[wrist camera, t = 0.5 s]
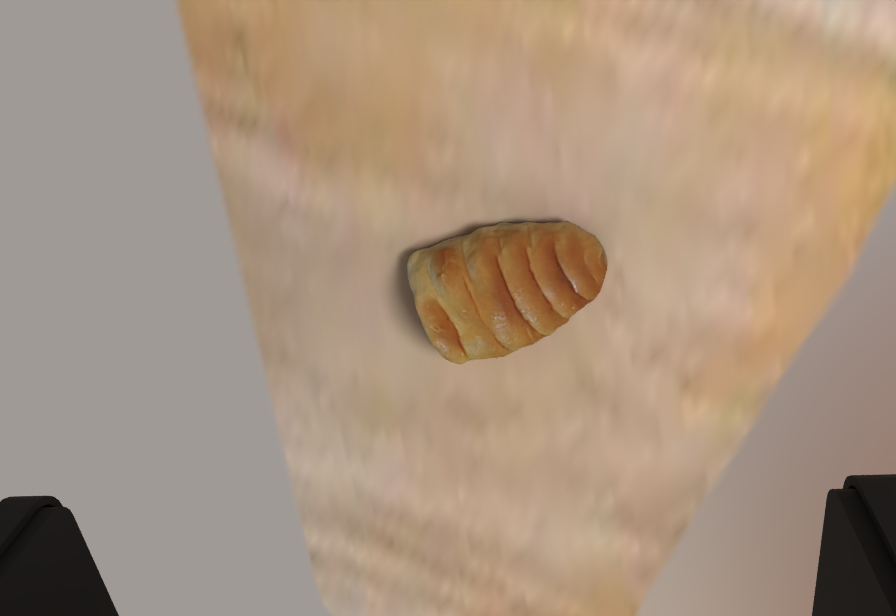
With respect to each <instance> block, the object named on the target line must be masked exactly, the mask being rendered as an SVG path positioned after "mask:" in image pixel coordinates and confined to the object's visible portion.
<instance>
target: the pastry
mask: <svg viewBox="0 0 896 616" xmlns="http://www.w3.org/2000/svg"><path fill="white" fill-rule="evenodd" d="M606 271H607V258H606V254H605V251H604V248H603V247H602V245H601V244H600V242H599V240H598V239H597V238H596V237H595V236H594V235H592V234H591V233H589V232H587V231H585V230H583V229H581V228H580V227H578V226H576V225H575V224H573V223H571V222H568V221H564V222H558V223H553V222H546V223H534V222H524V223H519V224H513V223H506V222H500V223H498V224H496V225H495V226H486V227H482V228H479V229H476V230H475V231H474V232H472V233H471V234H467V235H462V236H456V237H454V238H451V239H448V240H445V241H442V242H441V243H438V244H435V245H434V246H432V247H429V248H424V249H421V250H417V251H415V252H413V254H412V255H411V256H410V257H409V259H408V263H407V272H408V279H409V285H410V288H411V290H412V292H413V295H414V299H415V306H416V311H417V312H418V315H419V317H420V320H421V323H422V325H423V328H424V330H425V332H426V334H427V337H428V339H429V341H430V343H431V344H432V345H433V346H434V347H435V348H437V349H438V352H439V354H440V355H441V356H442V357H444V358H445V359H446V360H448V361H450V362H453V363H457V364H463V363H465V362H466V361H470V360H476V359H488V358H497V357H503V356H506V355H508V354H510V353H512V352H514V351H516V350H518V349H519V348H522V347H526V346H529V345H532V344H534V343H535V342H537V341H539V340H540V339H542V338H543V337H545V336H548V335H551V334H552V333H553V332H554V331H555V330H556V329H557V328H558V327H560V326H562V325H563V324H565V323H567V322H568V320H569V319H570V317H571V316H572V315H574V314H575V313H576V312H577V311H579V310H580V309H581V308H583V307H584V306H585V305H586V304H588V303H589V302H591V301H593V300H594V299H595V298H596V297H597V295H598V294H599V292H600V290H601V287H602V284H603V281H604V279H605V274H606Z"/></svg>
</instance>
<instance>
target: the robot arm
mask: <svg viewBox="0 0 896 616" xmlns="http://www.w3.org/2000/svg"><path fill="white" fill-rule="evenodd" d="M0 616H119V615H118V613H117V611H116V609H115V607H114V604H113V602H112V600H111V598H110V595H109V593H108V591H107V589H106V587H105V584H104V582H103V580H102V578H101V576H100V573H99V571H98V569H97V567H96V564H95V562H94V560H93V558H92V556H91V554H90V551H89V549H88V547H87V545H86V542H85V540H84V538H83V536H82V534H81V531H80V529H79V527H78V525H77V522H76V520H75V518H74V516H73V514H72V512H71V511H70V510H69V509H68V508H66V507H63V506H62V504H61V503H60V501H59V500H58V499H56V498H55V497H53V496H22V497H21V496H20V497H8V498H5V499H3V500H2V501H1V502H0ZM812 616H896V474H891V475H851V476H848V477H847V478H846V480H845V482H844V486H843V489H831V490H830V491H829V492H828V495H827V501H826V509H825V517H824V524H823V533H822V540H821V548H820V556H819V564H818V573H817V580H816V588H815V596H814V605H813V612H812Z"/></svg>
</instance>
